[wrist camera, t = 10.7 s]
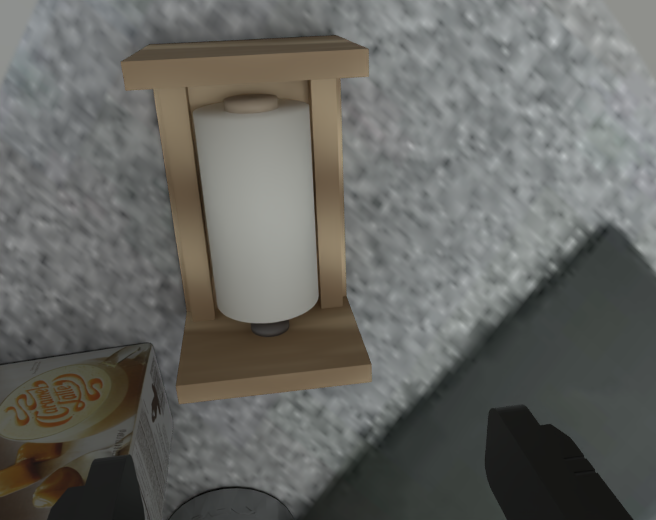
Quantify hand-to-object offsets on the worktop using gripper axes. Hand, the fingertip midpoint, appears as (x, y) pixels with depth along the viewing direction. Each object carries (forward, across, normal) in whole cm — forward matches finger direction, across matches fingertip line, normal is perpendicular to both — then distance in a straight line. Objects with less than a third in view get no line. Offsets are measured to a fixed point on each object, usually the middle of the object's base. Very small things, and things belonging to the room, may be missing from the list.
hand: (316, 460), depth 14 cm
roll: (+17, 0, 0) cm, 17 cm away
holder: (+21, +1, 0) cm, 21 cm away
